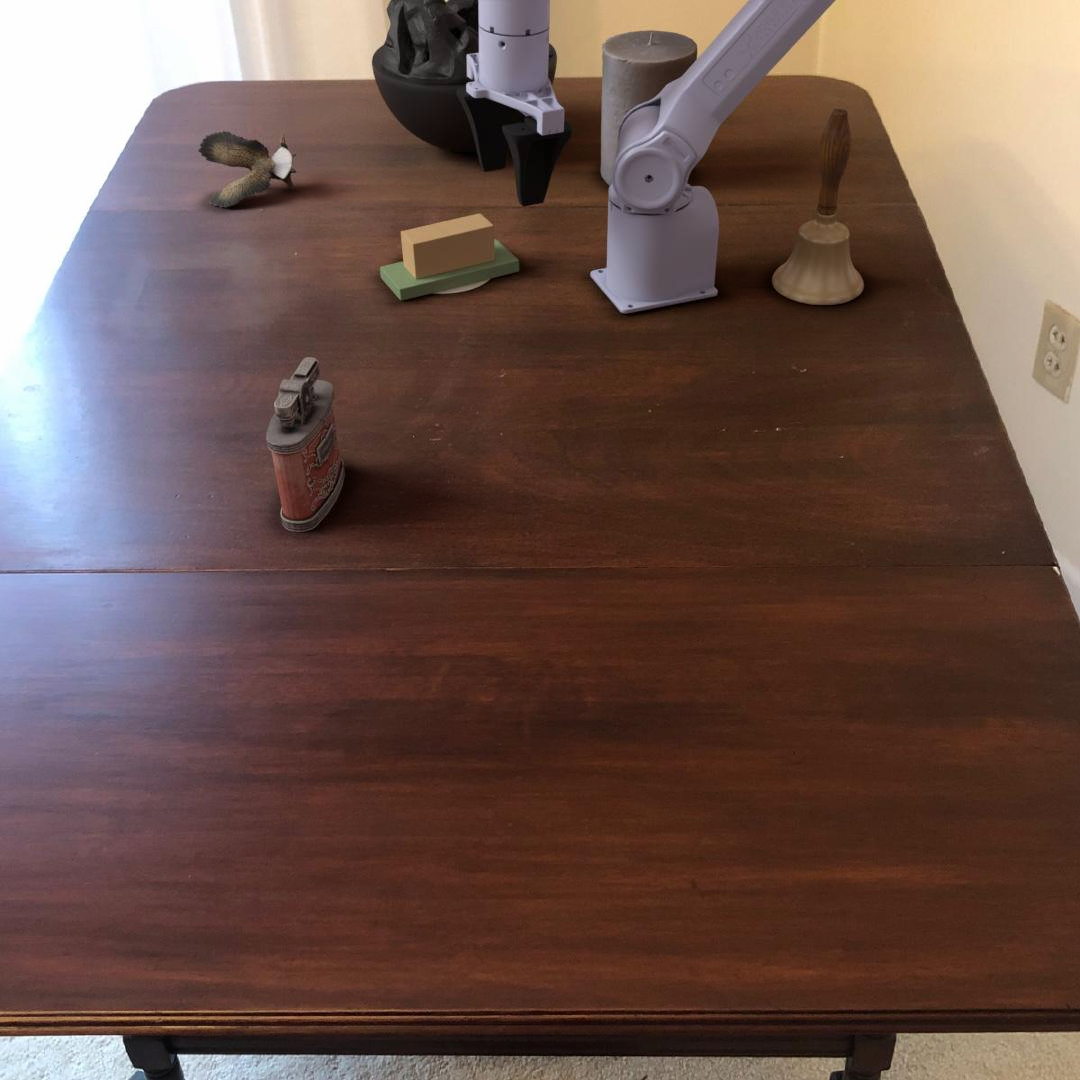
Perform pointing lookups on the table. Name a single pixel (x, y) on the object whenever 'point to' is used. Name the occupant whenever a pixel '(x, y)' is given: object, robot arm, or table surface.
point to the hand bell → (824, 233)
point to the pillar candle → (637, 78)
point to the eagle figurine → (246, 165)
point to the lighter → (305, 448)
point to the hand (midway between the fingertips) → (512, 185)
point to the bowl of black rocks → (432, 68)
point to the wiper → (448, 257)
